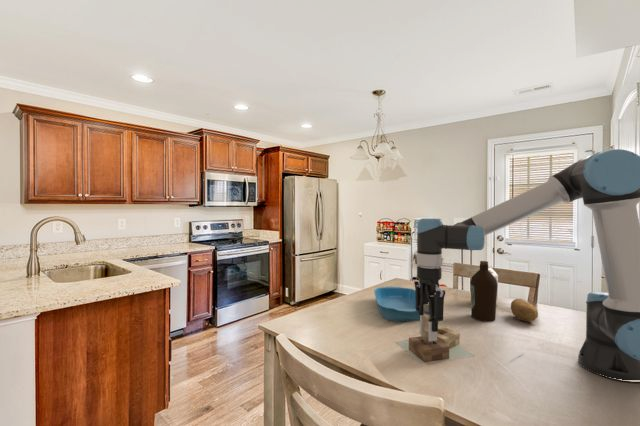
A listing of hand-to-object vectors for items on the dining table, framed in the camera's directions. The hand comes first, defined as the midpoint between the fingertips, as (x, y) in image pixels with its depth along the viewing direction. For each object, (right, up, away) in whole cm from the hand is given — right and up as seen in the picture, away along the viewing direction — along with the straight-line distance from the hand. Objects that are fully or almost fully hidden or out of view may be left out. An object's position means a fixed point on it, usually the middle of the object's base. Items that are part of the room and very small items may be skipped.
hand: (428, 337), depth 102 cm
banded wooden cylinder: (0, -6, 0) cm, 6 cm away
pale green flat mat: (+3, -7, +4) cm, 8 cm away
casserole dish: (+2, -6, +45) cm, 46 cm away
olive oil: (+37, -6, +36) cm, 52 cm away
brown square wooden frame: (0, -6, 0) cm, 6 cm away
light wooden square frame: (+7, -5, +8) cm, 12 cm away
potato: (+53, -6, +34) cm, 63 cm away
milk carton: (+48, -5, +55) cm, 73 cm away
